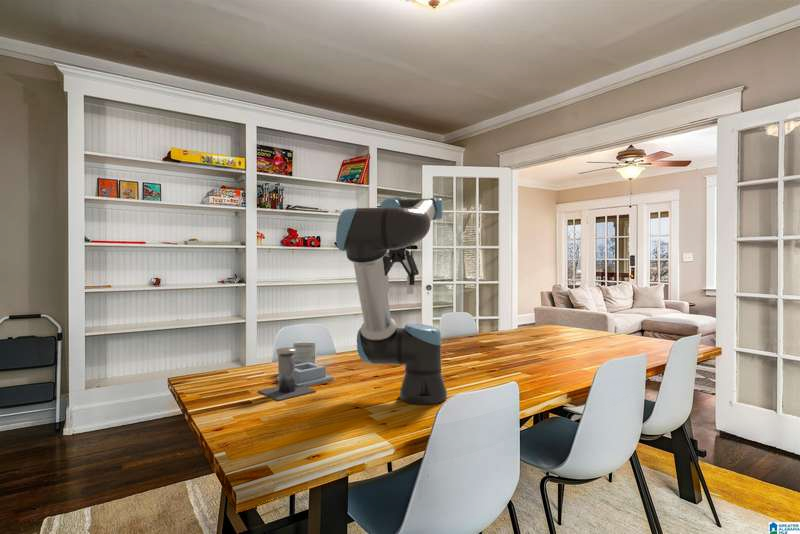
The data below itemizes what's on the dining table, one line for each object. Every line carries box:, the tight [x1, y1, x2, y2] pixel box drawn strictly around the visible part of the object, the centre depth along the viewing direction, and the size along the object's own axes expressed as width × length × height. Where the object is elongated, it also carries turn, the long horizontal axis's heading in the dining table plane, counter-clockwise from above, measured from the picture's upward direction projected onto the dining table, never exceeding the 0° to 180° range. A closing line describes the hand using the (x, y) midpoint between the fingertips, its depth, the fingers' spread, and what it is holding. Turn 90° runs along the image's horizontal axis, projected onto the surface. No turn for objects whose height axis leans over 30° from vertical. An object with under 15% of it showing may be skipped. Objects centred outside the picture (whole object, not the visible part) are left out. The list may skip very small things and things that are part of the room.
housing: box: [275, 362, 334, 387], centre depth 161 cm, size 15×15×5 cm
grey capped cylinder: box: [276, 346, 296, 393], centre depth 147 cm, size 6×6×14 cm
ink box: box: [292, 340, 317, 365], centre depth 175 cm, size 9×5×12 cm, turn 92°
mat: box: [257, 385, 317, 402], centre depth 147 cm, size 14×14×1 cm
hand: (397, 293), depth 168 cm, fingers open, 13 cm apart
